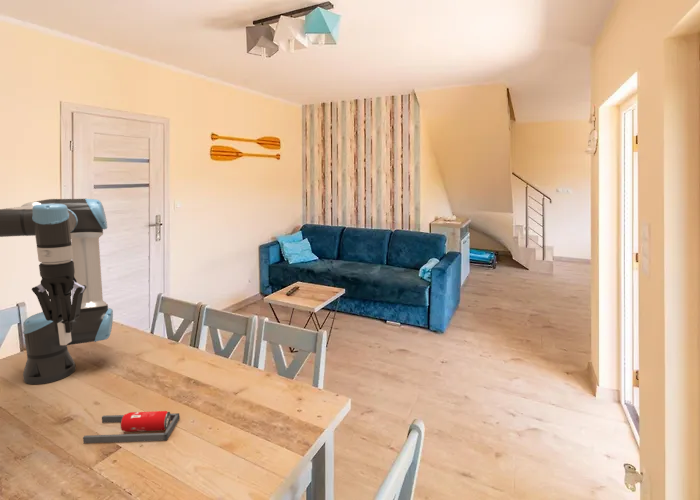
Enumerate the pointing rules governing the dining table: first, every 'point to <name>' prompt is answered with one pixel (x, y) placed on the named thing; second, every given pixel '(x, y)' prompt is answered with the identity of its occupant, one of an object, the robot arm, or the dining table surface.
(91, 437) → the grey u-shaped frame
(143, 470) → the dining table surface
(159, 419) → the beverage can
